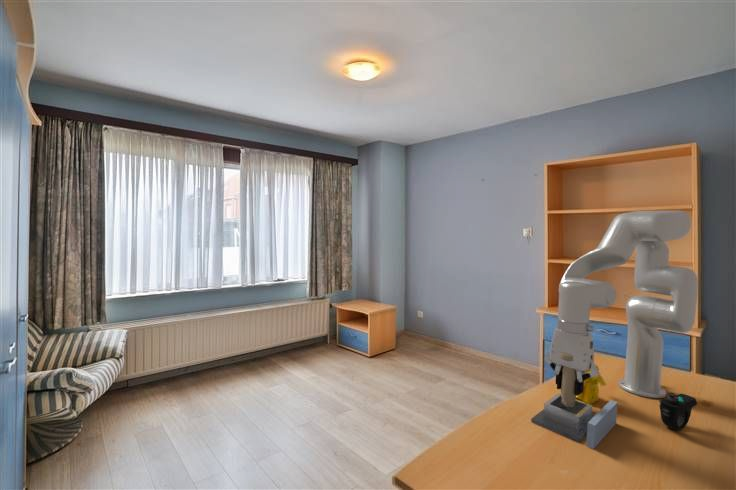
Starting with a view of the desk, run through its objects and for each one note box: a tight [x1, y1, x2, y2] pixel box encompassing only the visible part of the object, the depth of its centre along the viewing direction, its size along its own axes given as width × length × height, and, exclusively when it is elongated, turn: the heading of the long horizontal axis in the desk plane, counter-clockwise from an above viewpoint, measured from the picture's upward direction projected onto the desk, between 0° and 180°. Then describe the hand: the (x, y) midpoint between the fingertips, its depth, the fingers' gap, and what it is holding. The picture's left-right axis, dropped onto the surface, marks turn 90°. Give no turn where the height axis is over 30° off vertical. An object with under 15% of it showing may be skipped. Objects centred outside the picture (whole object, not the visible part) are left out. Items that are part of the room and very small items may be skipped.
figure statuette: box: [576, 364, 607, 405], centre depth 113 cm, size 18×8×22 cm, turn 123°
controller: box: [659, 392, 698, 431], centre depth 98 cm, size 4×12×10 cm, turn 115°
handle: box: [559, 352, 577, 408], centre depth 100 cm, size 5×6×15 cm
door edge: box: [585, 399, 618, 450], centre depth 94 cm, size 18×2×6 cm, turn 131°
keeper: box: [530, 392, 598, 443], centre depth 100 cm, size 18×12×4 cm, turn 131°
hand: (568, 390), depth 100 cm, fingers closed on handle, 4 cm apart
